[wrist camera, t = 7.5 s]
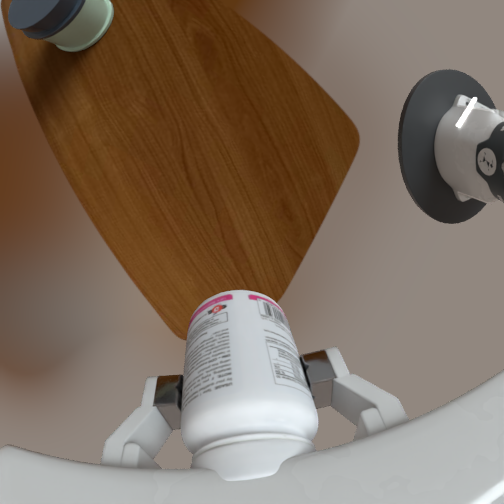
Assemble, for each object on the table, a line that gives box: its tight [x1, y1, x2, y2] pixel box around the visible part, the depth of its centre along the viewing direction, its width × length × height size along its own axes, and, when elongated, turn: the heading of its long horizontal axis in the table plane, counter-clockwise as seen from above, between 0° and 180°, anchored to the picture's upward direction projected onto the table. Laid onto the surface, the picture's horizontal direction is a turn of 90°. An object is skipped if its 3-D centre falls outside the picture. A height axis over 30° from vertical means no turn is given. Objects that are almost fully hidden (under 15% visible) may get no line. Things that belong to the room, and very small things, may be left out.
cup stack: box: [8, 0, 114, 52], centre depth 18 cm, size 9×9×12 cm
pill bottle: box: [181, 290, 318, 481], centre depth 10 cm, size 5×5×8 cm
